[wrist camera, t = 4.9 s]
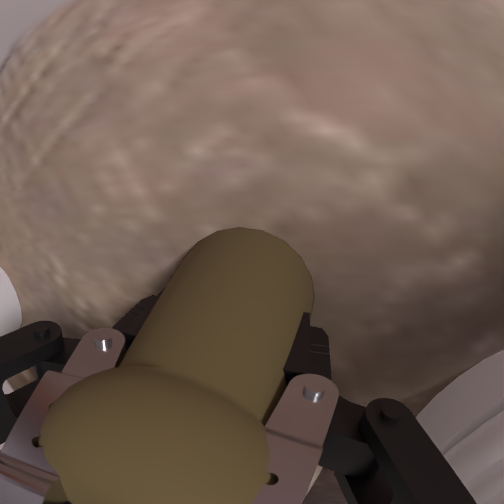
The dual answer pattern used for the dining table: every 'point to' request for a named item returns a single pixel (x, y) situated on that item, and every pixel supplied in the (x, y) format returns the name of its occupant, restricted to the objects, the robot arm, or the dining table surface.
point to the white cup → (8, 306)
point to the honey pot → (472, 428)
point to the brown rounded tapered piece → (189, 384)
